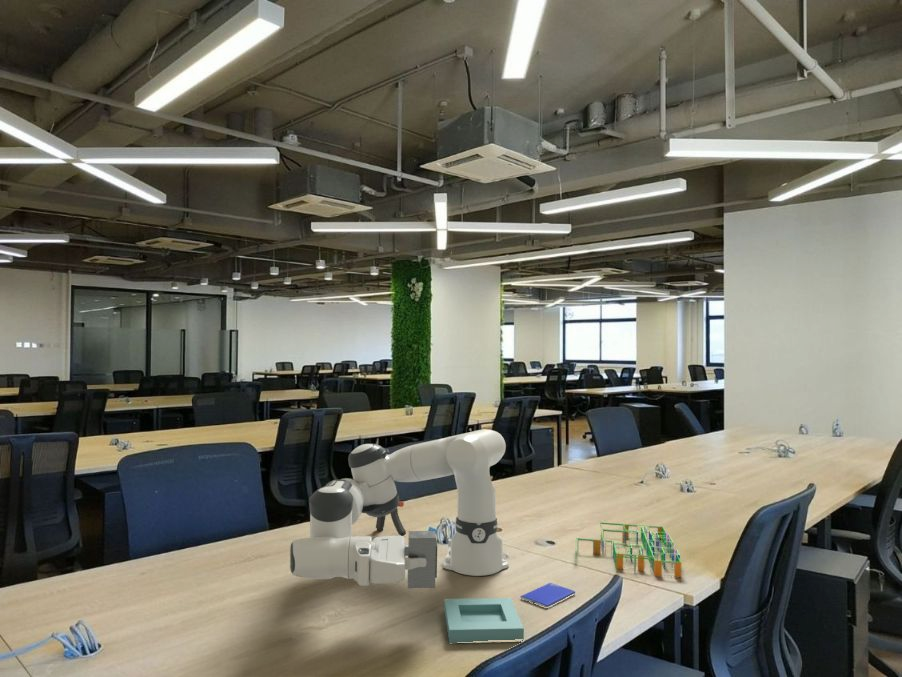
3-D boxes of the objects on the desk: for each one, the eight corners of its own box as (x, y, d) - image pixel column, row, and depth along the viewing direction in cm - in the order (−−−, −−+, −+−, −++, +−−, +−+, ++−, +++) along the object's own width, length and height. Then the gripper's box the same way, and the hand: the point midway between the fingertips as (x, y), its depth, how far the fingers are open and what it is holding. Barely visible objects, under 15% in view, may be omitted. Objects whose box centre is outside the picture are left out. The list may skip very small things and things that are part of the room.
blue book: (549, 582, 162) (520, 595, 153) (575, 590, 157) (546, 604, 148) (549, 588, 162) (520, 601, 153) (575, 597, 157) (546, 611, 148)
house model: (684, 579, 169) (684, 562, 169) (575, 570, 175) (575, 554, 175) (665, 541, 203) (665, 526, 204) (575, 534, 209) (575, 520, 209)
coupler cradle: (444, 611, 145) (444, 599, 145) (510, 610, 147) (510, 597, 147) (449, 644, 129) (449, 629, 130) (523, 642, 131) (523, 628, 131)
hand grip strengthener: (402, 538, 201) (403, 492, 202) (375, 530, 209) (375, 487, 209) (407, 536, 203) (407, 491, 204) (379, 529, 211) (380, 485, 211)
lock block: (407, 579, 138) (408, 531, 138) (435, 579, 139) (436, 531, 139) (407, 588, 133) (408, 538, 134) (436, 588, 134) (437, 537, 134)
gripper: (365, 555, 145) (423, 554, 147) (359, 589, 125) (427, 588, 126) (366, 528, 146) (424, 528, 147) (360, 558, 125) (427, 557, 126)
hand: (425, 556), depth 136 cm, fingers closed on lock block, 5 cm apart
